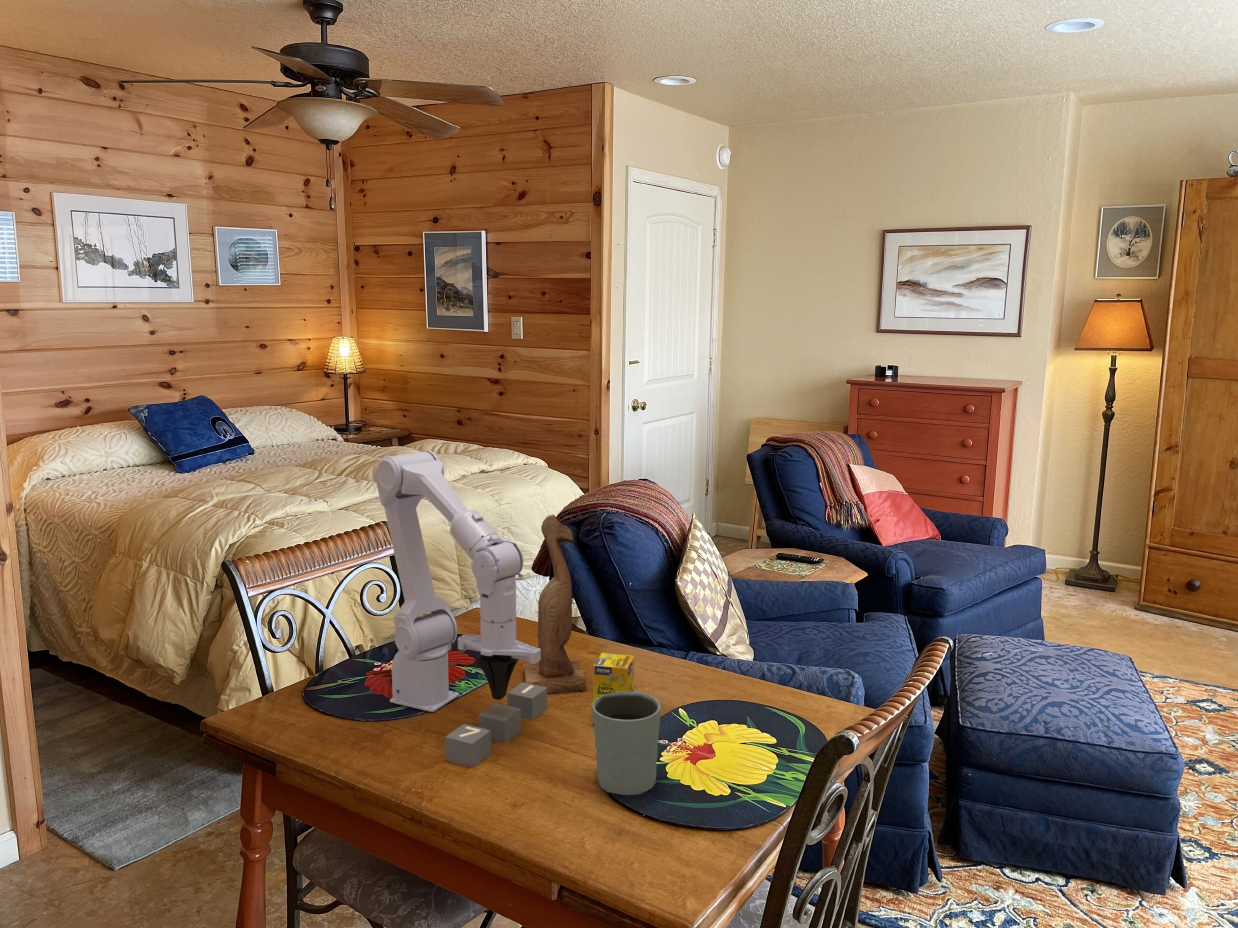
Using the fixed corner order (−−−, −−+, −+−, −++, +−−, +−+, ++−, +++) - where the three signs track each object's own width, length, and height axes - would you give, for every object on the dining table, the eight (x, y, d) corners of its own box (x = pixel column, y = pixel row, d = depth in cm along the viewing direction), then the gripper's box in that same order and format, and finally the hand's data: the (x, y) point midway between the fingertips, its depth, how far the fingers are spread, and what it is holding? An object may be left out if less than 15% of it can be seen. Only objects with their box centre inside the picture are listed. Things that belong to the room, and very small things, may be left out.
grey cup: (637, 806, 129) (638, 726, 127) (577, 785, 134) (578, 708, 132) (671, 775, 137) (673, 700, 135) (614, 757, 143) (615, 684, 141)
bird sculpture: (590, 693, 167) (596, 521, 162) (526, 696, 164) (530, 522, 159) (578, 670, 178) (584, 508, 173) (518, 673, 175) (522, 509, 170)
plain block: (478, 737, 149) (478, 714, 148) (495, 725, 153) (494, 702, 153) (505, 744, 147) (504, 720, 146) (521, 731, 151) (520, 708, 151)
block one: (507, 714, 158) (507, 691, 157) (522, 703, 162) (522, 681, 161) (532, 720, 155) (532, 697, 155) (547, 709, 160) (547, 686, 159)
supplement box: (627, 730, 152) (628, 668, 150) (592, 727, 153) (592, 665, 151) (634, 715, 157) (634, 654, 156) (599, 711, 159) (600, 651, 157)
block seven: (445, 760, 141) (445, 735, 141) (464, 747, 146) (464, 722, 145) (472, 768, 139) (472, 742, 139) (491, 754, 144) (490, 729, 143)
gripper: (446, 617, 147) (448, 697, 149) (524, 632, 141) (525, 715, 143) (471, 605, 153) (472, 682, 155) (547, 618, 147) (547, 697, 149)
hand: (499, 696), depth 150 cm, fingers closed
